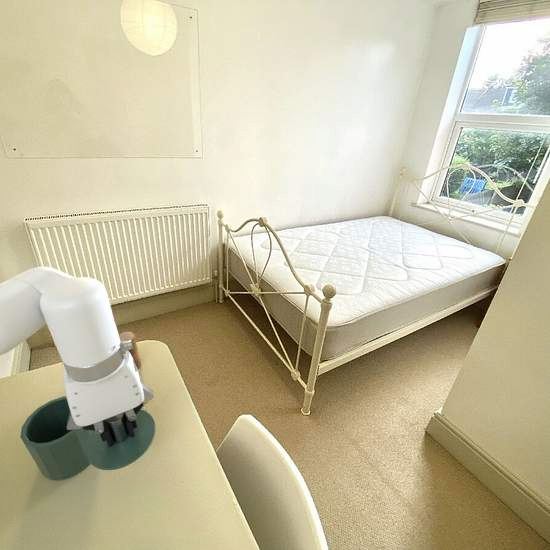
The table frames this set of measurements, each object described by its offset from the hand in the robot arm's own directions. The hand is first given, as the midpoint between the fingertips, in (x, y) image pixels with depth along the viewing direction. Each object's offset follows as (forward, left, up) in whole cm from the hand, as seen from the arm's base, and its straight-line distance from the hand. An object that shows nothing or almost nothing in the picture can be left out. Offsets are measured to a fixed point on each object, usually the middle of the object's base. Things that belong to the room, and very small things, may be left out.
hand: (121, 434), depth 54 cm
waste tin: (-10, +9, -11) cm, 17 cm away
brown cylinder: (+4, +28, -11) cm, 30 cm away
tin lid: (0, 0, -1) cm, 1 cm away
